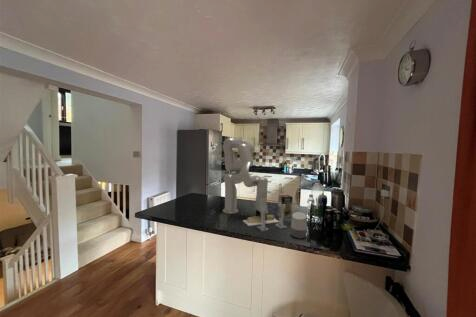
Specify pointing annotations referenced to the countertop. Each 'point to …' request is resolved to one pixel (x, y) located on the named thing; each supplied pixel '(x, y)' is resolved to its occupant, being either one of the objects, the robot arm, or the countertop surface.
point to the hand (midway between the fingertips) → (261, 218)
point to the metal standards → (263, 214)
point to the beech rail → (259, 218)
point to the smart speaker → (299, 225)
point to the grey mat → (260, 222)
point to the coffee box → (288, 208)
